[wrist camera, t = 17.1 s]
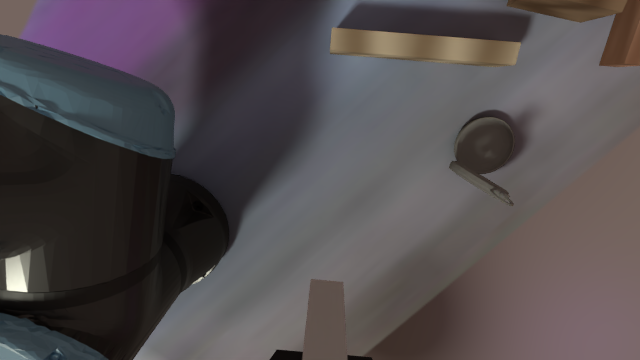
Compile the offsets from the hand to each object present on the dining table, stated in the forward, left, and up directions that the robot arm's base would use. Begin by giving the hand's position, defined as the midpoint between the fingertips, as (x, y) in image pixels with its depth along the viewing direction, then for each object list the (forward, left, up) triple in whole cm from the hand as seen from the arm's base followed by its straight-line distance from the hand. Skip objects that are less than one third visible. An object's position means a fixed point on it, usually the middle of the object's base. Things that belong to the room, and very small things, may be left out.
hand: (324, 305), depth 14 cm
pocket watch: (+17, +3, -25) cm, 30 cm away
